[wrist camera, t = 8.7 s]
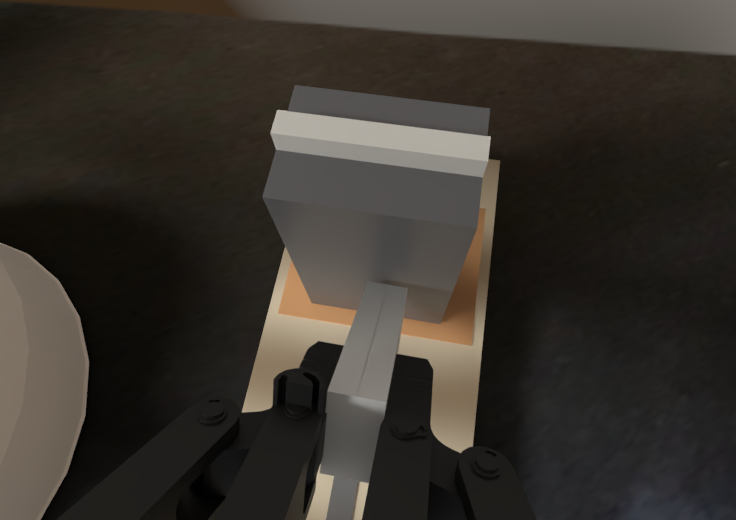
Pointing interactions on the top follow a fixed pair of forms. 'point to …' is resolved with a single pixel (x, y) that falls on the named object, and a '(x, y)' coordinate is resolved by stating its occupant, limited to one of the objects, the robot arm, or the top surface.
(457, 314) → the fader console
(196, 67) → the top surface
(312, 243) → the fader knob
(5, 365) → the kettle
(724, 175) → the top surface
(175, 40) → the top surface
